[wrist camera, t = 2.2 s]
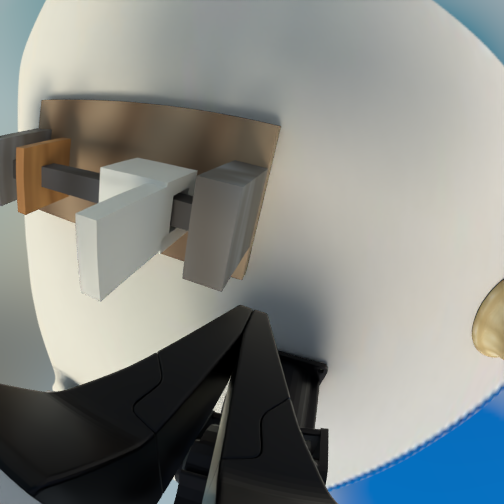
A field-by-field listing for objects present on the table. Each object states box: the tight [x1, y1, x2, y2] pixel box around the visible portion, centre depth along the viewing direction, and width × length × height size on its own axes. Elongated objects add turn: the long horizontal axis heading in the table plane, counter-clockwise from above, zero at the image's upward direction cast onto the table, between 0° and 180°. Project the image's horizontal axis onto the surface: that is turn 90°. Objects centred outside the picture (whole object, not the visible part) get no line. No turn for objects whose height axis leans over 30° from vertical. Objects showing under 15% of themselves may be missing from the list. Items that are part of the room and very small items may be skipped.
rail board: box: [0, 100, 281, 292], centre depth 17 cm, size 20×10×7 cm, turn 78°
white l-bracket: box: [75, 158, 197, 302], centre depth 13 cm, size 4×4×8 cm
